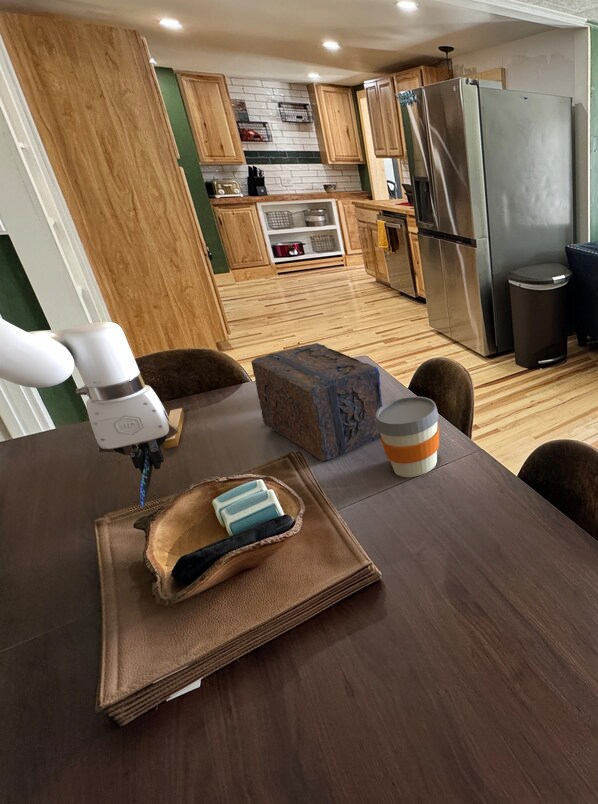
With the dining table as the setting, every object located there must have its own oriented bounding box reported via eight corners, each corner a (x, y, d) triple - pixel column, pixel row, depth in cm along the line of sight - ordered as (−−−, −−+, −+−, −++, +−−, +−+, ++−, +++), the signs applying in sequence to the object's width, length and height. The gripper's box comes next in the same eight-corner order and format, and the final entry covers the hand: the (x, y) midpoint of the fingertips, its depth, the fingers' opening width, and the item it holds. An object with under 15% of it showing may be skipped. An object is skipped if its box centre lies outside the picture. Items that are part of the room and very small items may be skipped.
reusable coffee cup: (396, 493, 98) (384, 431, 93) (378, 465, 107) (366, 407, 102) (454, 470, 106) (446, 411, 100) (432, 445, 115) (424, 390, 109)
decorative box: (328, 405, 135) (250, 430, 118) (321, 337, 129) (238, 354, 112) (400, 436, 121) (323, 470, 104) (396, 362, 115) (314, 385, 98)
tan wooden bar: (164, 449, 112) (161, 441, 111) (173, 417, 126) (170, 410, 125) (177, 445, 114) (174, 438, 113) (184, 414, 127) (182, 407, 126)
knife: (154, 431, 108) (146, 415, 105) (171, 427, 109) (164, 411, 107) (128, 523, 85) (117, 505, 83) (150, 516, 87) (140, 499, 85)
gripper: (51, 406, 82) (94, 491, 90) (168, 384, 91) (199, 463, 98) (64, 390, 88) (103, 471, 95) (172, 370, 96) (201, 447, 103)
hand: (151, 467), depth 96 cm, fingers closed on knife, 1 cm apart
